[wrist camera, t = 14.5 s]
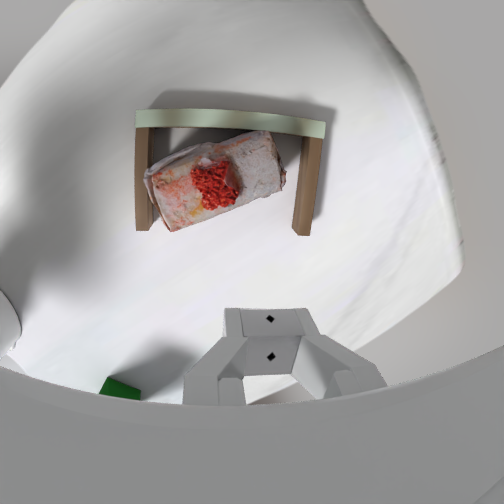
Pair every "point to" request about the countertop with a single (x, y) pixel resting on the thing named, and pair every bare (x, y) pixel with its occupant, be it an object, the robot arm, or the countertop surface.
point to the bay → (239, 121)
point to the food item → (214, 178)
